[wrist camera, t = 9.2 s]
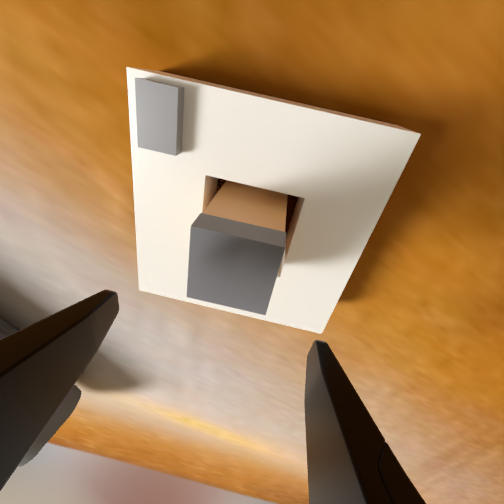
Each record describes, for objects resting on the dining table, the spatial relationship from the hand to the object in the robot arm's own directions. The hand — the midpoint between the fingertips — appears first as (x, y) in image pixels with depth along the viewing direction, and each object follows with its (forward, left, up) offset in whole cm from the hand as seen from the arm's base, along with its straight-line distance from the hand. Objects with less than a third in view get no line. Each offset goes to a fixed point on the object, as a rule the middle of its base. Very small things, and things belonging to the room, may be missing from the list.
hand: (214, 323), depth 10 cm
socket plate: (0, 0, -11) cm, 11 cm away
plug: (0, 0, -11) cm, 11 cm away
